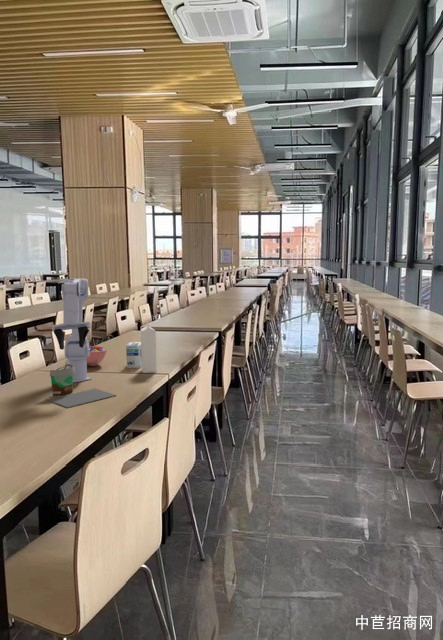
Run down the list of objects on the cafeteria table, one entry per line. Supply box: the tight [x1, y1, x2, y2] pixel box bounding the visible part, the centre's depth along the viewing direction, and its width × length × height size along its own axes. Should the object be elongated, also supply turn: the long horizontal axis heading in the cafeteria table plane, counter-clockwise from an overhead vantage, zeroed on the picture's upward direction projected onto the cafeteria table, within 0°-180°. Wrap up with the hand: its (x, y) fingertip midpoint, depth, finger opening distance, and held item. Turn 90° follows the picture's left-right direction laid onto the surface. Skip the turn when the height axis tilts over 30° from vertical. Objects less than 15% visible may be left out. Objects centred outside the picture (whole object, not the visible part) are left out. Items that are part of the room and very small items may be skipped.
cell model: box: [86, 345, 108, 367], centre depth 233 cm, size 17×20×11 cm
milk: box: [140, 322, 158, 374], centre depth 221 cm, size 6×6×22 cm
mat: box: [46, 388, 117, 409], centre depth 180 cm, size 14×20×1 cm
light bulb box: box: [125, 341, 142, 369], centre depth 234 cm, size 11×7×11 cm, turn 179°
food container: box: [49, 364, 75, 397], centre depth 187 cm, size 12×6×10 cm, turn 168°
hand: (71, 348), depth 183 cm, fingers open, 7 cm apart
